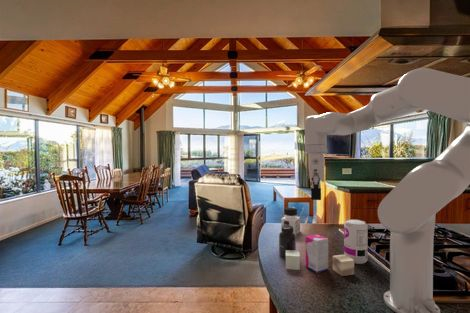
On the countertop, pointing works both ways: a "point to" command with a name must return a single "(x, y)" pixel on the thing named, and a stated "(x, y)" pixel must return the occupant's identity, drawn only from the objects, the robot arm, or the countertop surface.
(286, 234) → the supplement bottle
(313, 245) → the supplement box
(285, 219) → the container
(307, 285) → the countertop surface
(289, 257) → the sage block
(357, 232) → the supplement can
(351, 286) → the countertop surface
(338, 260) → the birch block
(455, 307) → the countertop surface
